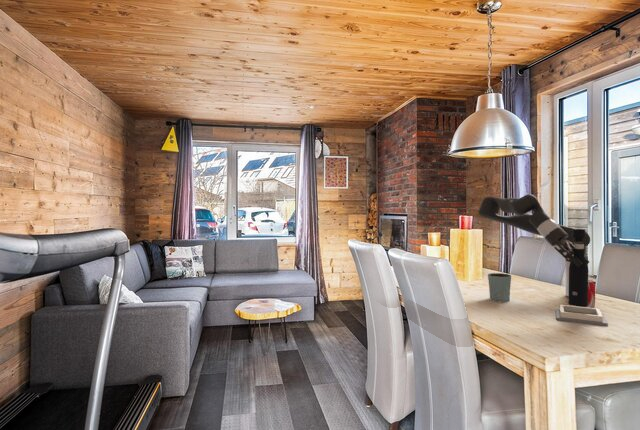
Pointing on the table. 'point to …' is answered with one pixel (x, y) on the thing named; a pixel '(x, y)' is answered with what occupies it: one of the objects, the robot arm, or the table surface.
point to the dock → (581, 315)
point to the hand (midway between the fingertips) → (583, 264)
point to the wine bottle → (578, 273)
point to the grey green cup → (499, 286)
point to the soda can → (591, 294)
